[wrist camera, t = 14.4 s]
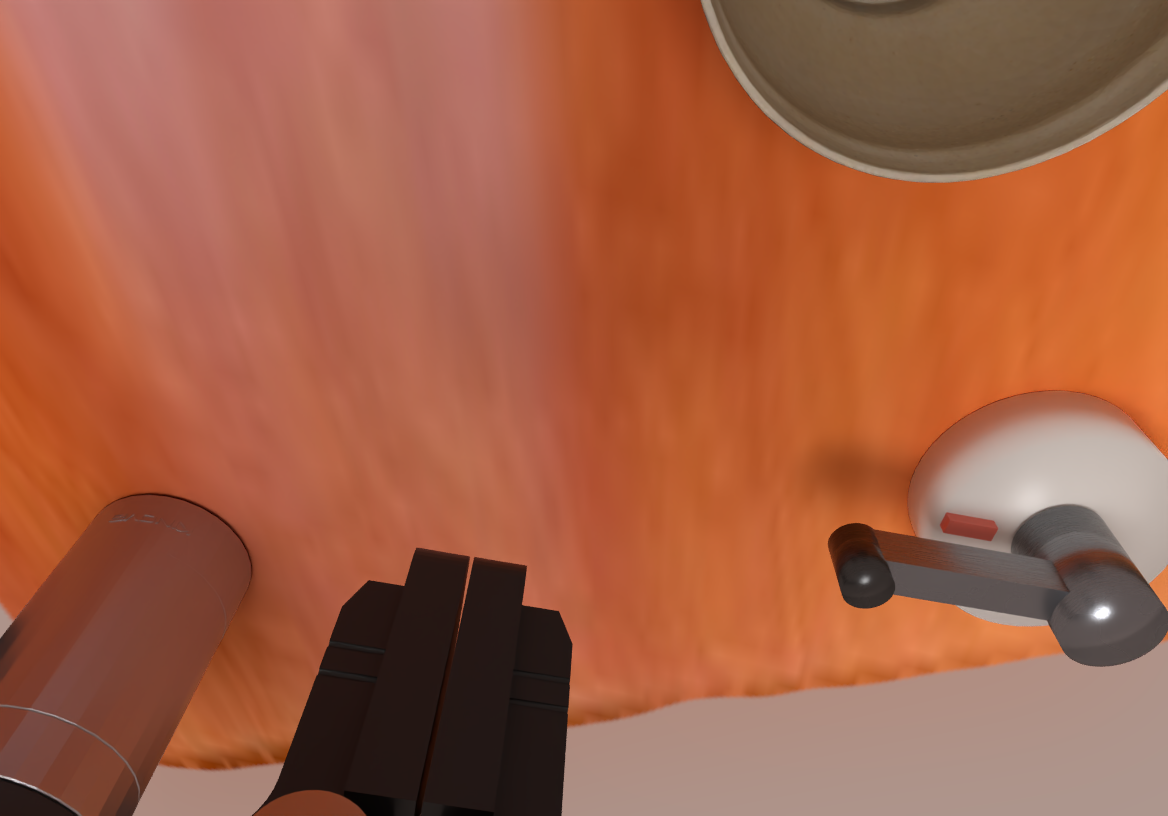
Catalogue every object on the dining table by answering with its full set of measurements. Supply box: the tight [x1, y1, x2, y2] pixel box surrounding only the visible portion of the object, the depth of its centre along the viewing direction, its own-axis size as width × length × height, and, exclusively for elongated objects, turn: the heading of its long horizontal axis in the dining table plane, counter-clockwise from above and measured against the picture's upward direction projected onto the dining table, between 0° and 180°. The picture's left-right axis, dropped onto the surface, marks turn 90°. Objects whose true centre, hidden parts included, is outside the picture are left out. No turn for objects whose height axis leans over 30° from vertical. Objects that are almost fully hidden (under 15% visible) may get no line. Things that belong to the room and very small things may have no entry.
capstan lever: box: [828, 506, 1168, 667], centre depth 40 cm, size 14×4×6 cm, turn 79°
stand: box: [907, 391, 1168, 626], centre depth 44 cm, size 12×12×5 cm
